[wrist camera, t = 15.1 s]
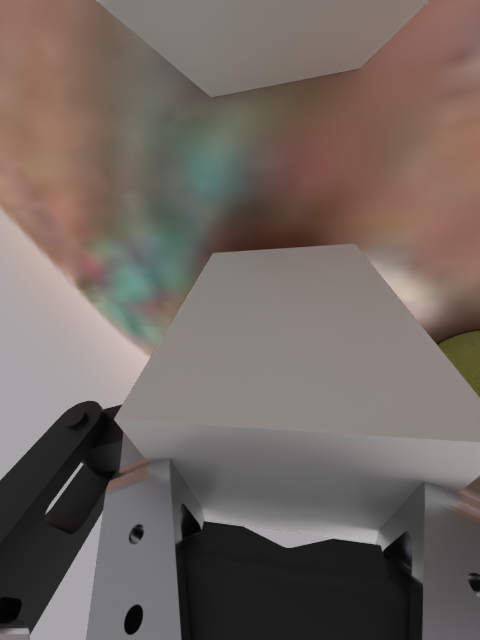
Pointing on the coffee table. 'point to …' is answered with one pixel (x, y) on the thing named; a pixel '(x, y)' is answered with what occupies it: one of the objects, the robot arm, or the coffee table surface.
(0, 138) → the coffee table surface
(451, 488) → the light grey rectangular block
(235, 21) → the left white block
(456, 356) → the plant pot
